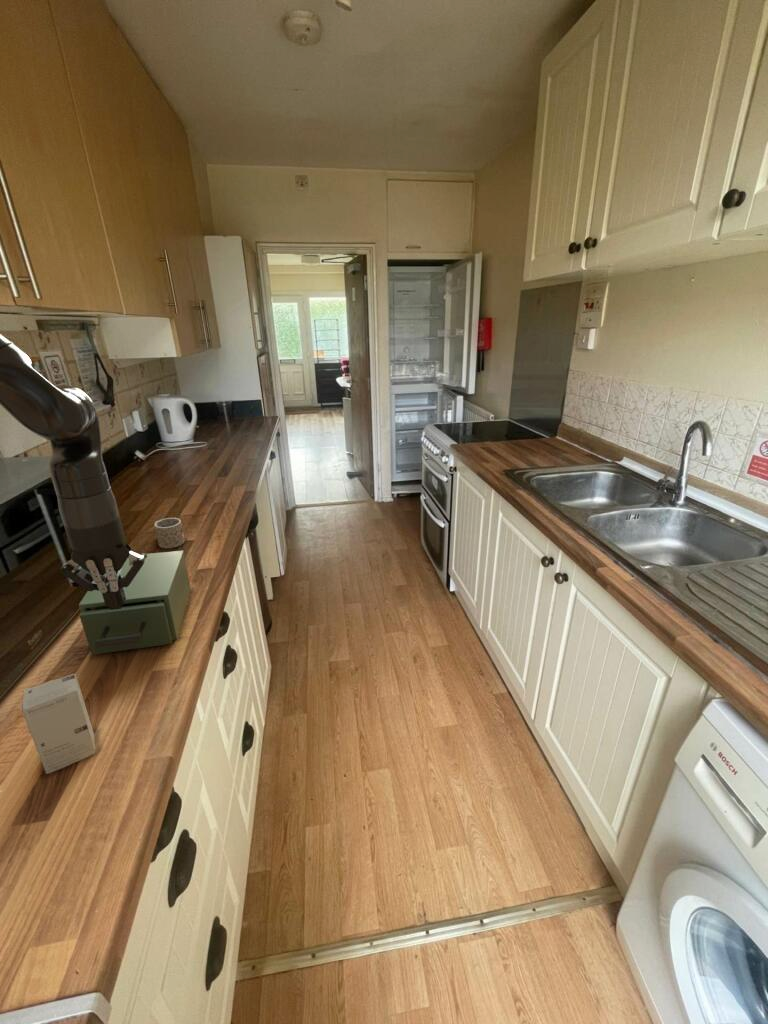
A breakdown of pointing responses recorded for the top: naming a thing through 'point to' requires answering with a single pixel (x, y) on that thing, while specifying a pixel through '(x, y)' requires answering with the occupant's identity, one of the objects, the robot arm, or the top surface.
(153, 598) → the cabinet
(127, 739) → the top surface
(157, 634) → the drawer
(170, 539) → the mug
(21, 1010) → the top surface
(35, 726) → the cosmetic box
